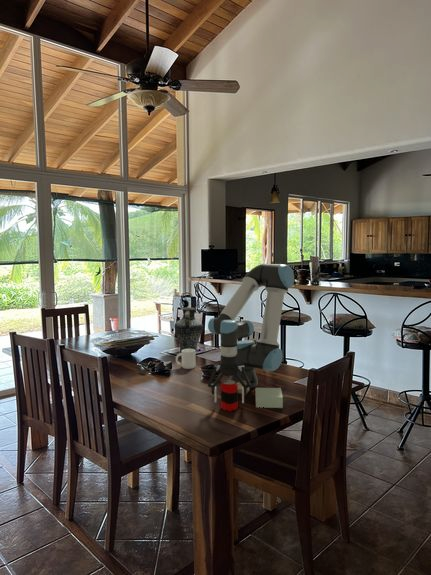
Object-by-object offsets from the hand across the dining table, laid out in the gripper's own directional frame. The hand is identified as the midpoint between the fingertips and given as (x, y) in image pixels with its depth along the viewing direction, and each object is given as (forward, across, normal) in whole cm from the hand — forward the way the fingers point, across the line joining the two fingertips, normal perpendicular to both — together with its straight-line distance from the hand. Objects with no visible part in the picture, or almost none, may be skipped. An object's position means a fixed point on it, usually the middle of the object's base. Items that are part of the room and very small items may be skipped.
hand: (229, 401), depth 193 cm
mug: (+3, -29, +61) cm, 68 cm away
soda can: (+3, 0, 0) cm, 3 cm away
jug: (+3, -32, +98) cm, 103 cm away
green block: (+3, +18, +7) cm, 20 cm away
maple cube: (+3, +6, +21) cm, 22 cm away
